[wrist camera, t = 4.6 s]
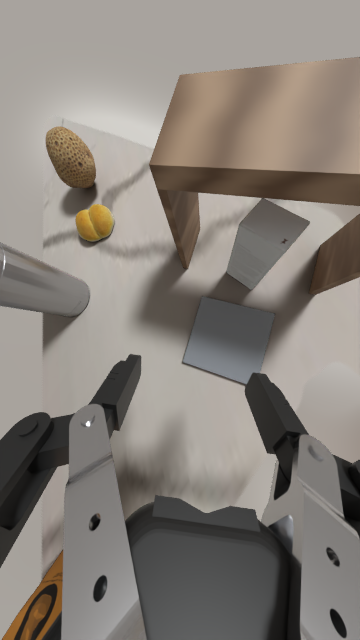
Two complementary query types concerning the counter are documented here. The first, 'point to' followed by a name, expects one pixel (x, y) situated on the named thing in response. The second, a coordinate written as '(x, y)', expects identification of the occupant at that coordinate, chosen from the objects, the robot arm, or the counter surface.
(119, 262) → the counter surface
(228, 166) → the walnut shelf
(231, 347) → the slate mat
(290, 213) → the skincare box
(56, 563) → the coffee package
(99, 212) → the bread roll
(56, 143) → the brown potato
